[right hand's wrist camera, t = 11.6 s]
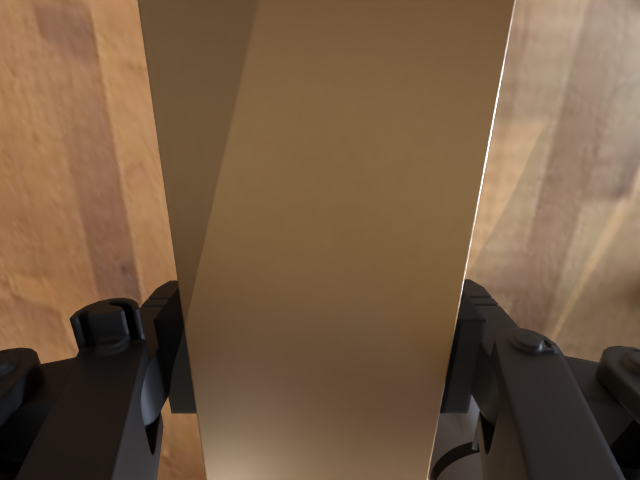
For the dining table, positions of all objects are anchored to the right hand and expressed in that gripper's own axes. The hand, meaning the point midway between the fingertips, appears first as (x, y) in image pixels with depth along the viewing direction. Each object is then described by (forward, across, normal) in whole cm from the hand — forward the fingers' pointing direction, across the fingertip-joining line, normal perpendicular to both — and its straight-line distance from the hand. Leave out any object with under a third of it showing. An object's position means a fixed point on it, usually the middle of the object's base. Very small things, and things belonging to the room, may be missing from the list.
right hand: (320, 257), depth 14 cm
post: (0, 0, -29) cm, 29 cm away
